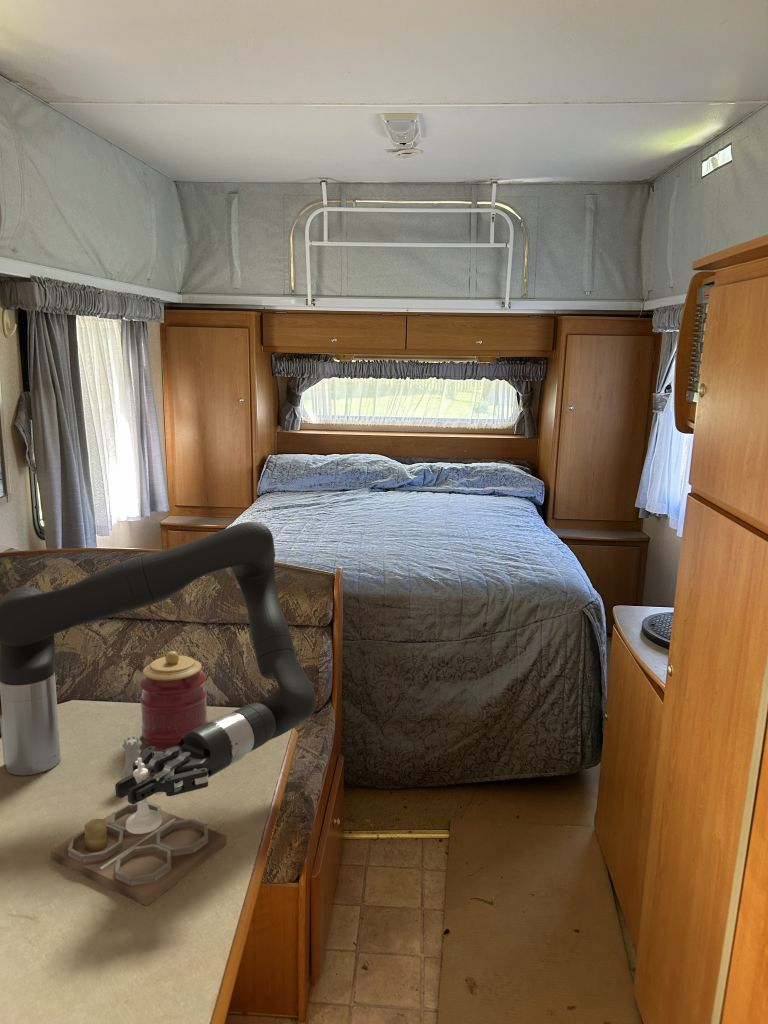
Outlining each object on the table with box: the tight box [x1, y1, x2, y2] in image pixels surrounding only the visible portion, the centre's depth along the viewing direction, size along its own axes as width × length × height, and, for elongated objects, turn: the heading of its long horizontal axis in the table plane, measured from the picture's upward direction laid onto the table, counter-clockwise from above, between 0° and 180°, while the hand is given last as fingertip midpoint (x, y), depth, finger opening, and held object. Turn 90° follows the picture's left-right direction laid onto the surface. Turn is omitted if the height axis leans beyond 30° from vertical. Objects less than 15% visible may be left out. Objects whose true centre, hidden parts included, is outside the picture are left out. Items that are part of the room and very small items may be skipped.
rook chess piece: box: [120, 735, 143, 780], centre depth 132 cm, size 4×4×8 cm
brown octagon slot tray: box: [49, 800, 228, 907], centre depth 112 cm, size 20×16×5 cm
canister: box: [138, 650, 209, 749], centre depth 149 cm, size 13×13×18 cm
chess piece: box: [126, 758, 162, 834], centre depth 105 cm, size 5×5×10 cm
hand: (123, 794), depth 102 cm, fingers closed on chess piece
